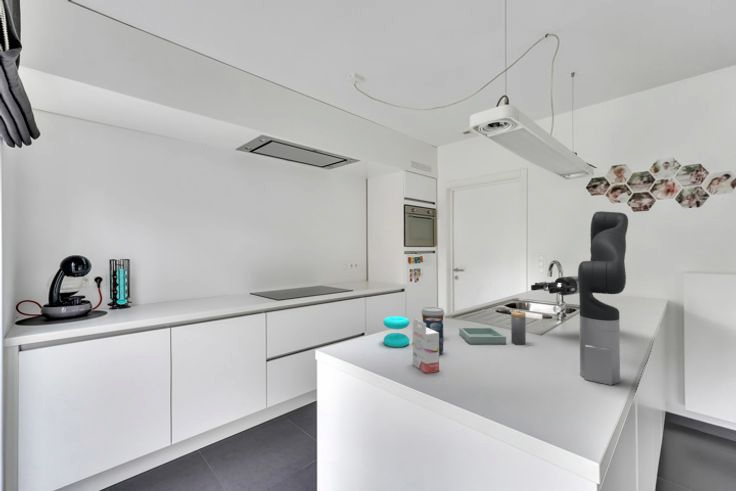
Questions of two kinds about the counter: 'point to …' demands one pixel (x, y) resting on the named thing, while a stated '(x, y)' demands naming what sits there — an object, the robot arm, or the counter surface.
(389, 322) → the donuts
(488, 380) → the counter surface
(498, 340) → the bin
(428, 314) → the disposable coffee cup
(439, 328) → the soda can
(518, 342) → the battery
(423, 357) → the ink cartridge box
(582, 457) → the counter surface
